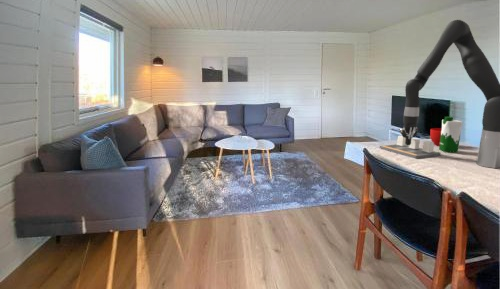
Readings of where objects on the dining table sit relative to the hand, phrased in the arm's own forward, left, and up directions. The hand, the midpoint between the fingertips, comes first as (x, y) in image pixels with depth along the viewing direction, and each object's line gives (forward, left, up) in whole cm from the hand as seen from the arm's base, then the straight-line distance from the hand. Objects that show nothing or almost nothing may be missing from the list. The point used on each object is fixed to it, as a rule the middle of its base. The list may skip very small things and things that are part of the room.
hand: (407, 144), depth 169 cm
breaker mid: (0, -5, -2) cm, 5 cm away
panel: (0, -1, -4) cm, 4 cm away
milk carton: (-7, -24, -4) cm, 25 cm away
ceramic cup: (+5, -36, -4) cm, 36 cm away
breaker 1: (+9, -5, -2) cm, 10 cm away
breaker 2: (-9, -5, -2) cm, 11 cm away
